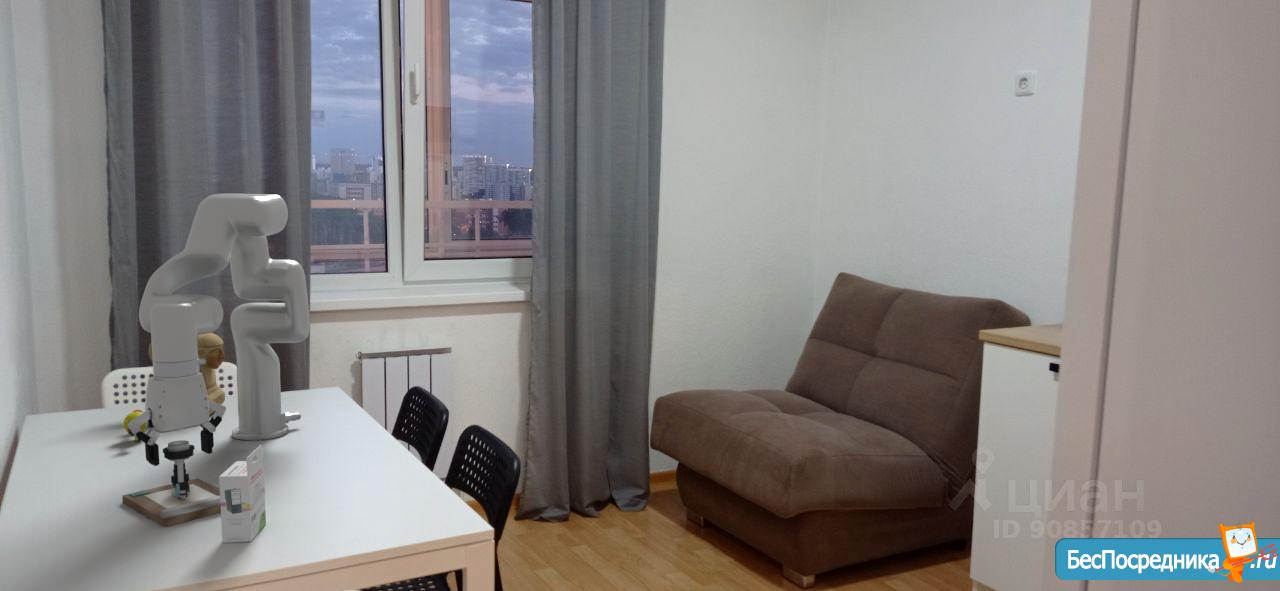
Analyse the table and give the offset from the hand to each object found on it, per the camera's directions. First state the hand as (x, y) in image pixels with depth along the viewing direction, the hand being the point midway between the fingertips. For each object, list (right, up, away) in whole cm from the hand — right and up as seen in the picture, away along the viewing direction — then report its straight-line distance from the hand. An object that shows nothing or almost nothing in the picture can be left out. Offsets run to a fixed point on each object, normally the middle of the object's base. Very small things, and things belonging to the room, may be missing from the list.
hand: (180, 458), depth 173 cm
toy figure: (-31, -4, +43) cm, 53 cm away
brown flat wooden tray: (0, -9, +1) cm, 9 cm away
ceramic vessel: (-31, -1, +67) cm, 74 cm away
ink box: (+17, -11, -13) cm, 24 cm away
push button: (0, -7, +1) cm, 7 cm away
